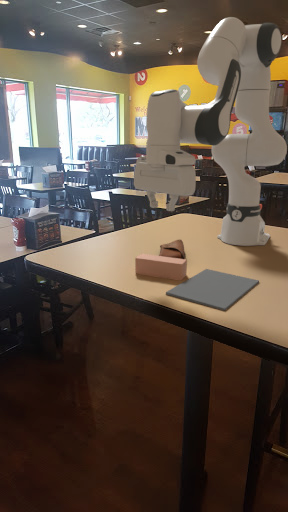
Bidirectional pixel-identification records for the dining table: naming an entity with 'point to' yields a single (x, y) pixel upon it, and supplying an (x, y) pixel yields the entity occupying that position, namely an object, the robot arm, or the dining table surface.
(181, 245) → the sunglasses case
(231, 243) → the robot arm
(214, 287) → the mat
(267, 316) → the dining table surface
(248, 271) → the dining table surface
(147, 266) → the pink rectangular brick
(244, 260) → the dining table surface
